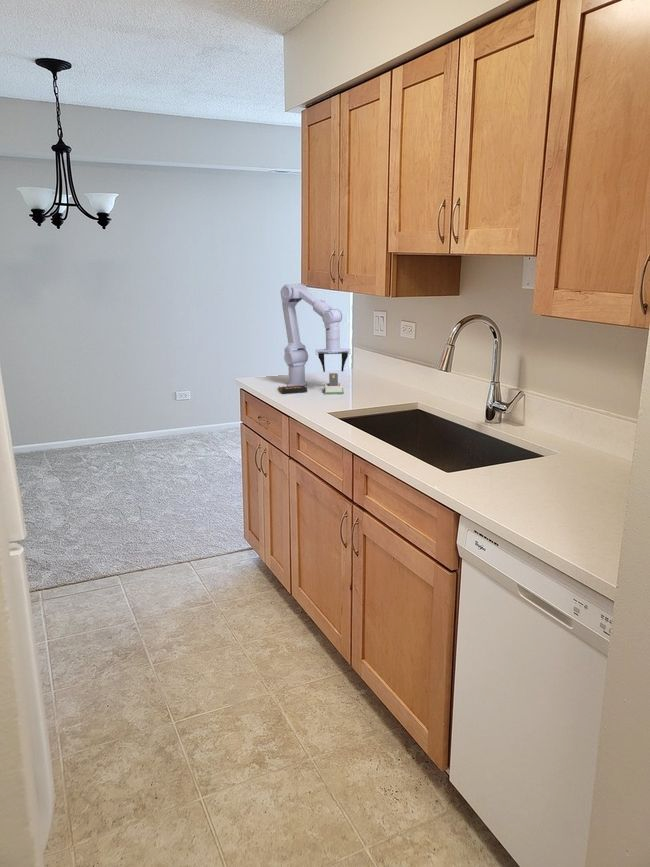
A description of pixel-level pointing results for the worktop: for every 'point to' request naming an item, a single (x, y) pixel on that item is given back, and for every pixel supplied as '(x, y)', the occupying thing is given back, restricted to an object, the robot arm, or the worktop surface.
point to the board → (333, 389)
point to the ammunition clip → (292, 389)
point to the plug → (333, 379)
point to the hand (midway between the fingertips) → (333, 371)
